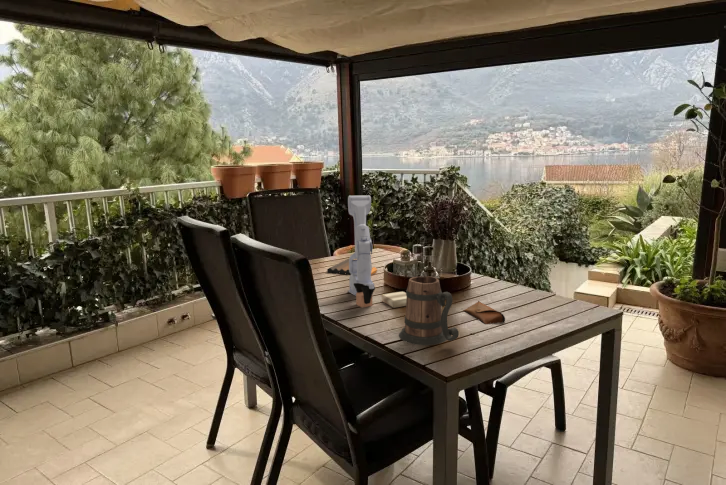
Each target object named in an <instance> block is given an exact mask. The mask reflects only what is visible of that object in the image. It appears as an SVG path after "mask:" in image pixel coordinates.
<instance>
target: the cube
mask: <svg viewBox="0 0 726 485" xmlns="http://www.w3.org/2000/svg"><path fill="white" fill-rule="evenodd" d="M355 297H356V298H355V299H356V301H355V303H356V305H357V306H358V307H360V308H367V307H372V306H373V296H372V297H371V301H370V303H368V304H365V302H364V295H363V292H358V293H356V296H355Z"/></svg>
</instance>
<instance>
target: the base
mask: <svg viewBox="0 0 726 485" xmlns="http://www.w3.org/2000/svg"><path fill="white" fill-rule="evenodd" d="M381 300H382V303H384V304H386V305H389V307H392V308H394V309H395V308H400V307H406V300H407V296H406V292H405V291H403V290H402V291H396V292H390V293H384V294H382V295H381Z"/></svg>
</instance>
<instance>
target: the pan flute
mask: <svg viewBox="0 0 726 485" xmlns="http://www.w3.org/2000/svg"><path fill="white" fill-rule="evenodd" d="M377 271H378V269H377V267H375V266H374V267H373V266H372V271H371V276H373V275H374V273H375V274H376V273H377ZM326 272H327V273H329V274H336V273H338V274H340V275H347V274H349V276H350V275H351V273H350V272H349V258H346V259H345V260H343V261H340V262H339V263H337V264H335V265H332V266H330V267H329V268H327V269H326ZM345 273H346V274H345ZM372 274H373V275H372Z"/></svg>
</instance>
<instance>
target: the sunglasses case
mask: <svg viewBox="0 0 726 485" xmlns="http://www.w3.org/2000/svg"><path fill="white" fill-rule="evenodd" d="M462 311H463V312H465V313H467V314H469V315H471V316H472V317H474V318H475V319H477V320H478V321H480V322H481V323H483V324H485V325H491V324H492V325H493V324H499V323H500V324H501V323H505V322H506V317H505V315H504V313H502V312H500V311H498V310H496V309H494V308H493V307H490V306H488V305H487V304H485V303H483V302H480V300H477V302H475V303H474V304H471V305H470V306H469V307H467V308H465V309H463V310H462Z"/></svg>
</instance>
